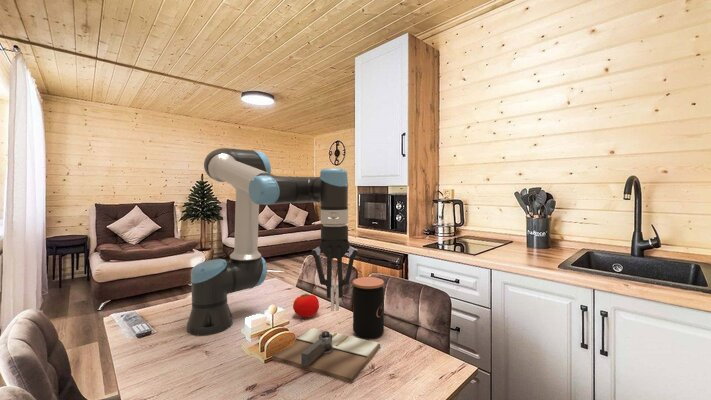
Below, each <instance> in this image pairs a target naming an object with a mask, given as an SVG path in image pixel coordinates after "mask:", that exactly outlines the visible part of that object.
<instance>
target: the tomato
mask: <svg viewBox="0 0 711 400" xmlns="http://www.w3.org/2000/svg"><path fill="white" fill-rule="evenodd" d="M319 308H320V302H319V299H318V297H317V296H316V295H314V294H308V293H303V294H301V295H300V296H298V297H296V298H295V300H294V301H293V304H292V309H293V311H294V314H296V315H297V316H299V317H303V318H310V317H313V316H315V315H316V314H317V313H318V311H319Z"/></svg>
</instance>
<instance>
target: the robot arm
mask: <svg viewBox="0 0 711 400" xmlns="http://www.w3.org/2000/svg"><path fill="white" fill-rule="evenodd" d="M203 169H204V172H205V173H206V175H207V176H208V177H209V178H211V179H212V180H214V181H216V182H219V183H227V184H229V185H231V186H232V187H233V188H234V189H235V206H234V207H235V212H234V245H233V246H234V247H233V248H234V249H233V251H232V253H231V254H230V255H229V261H226V259H224V258H223V259H222V258H216V259H209V260H205V261H202V262H200V263H198V264H196V265H195V266H193V268H192V269H191V273H190V275H191V276H190V283H191V287H190V288H191V310H190V314H189V316H188V321H187V322H186V331H187V333H188V334H190V335H194V336H209V335H214V334H218V333H220V332H223V331H225V330H227V329H229V328H231V326H233V322H234V319H233V314H232V312H231V309H230V306H229V304H228V294H232V293H236V292H241V291H245V290H246V291H247V290H249V289H250V290H251V289H253V288H256V287H259V286H261V285H262V284H264V282H265V280H266V278H267V272H268V267H267V266H268V265H267V264H266V263H267V261H266V259H265V258H264V257H263V256H262V253H260V252H259V250H258V247H259V246H258V244H259V218H260V217H259V216H260V215H259V214H260V205H265V206H270V205H283V204H303V203H304V204H305V203H320V224H321V226H320V242H319V245H318V246H317V247H316V248H313V249H312V250H311V252H310V254H311V255H312V257H313V259H314V262H315V265H316V272H317V275H318V280H319V284H320V285H323V286H325V287H326V298H327V299H330V311H331V312H334V311H335V312H338V311H339V309H340V299H342V298H343V297H344V287H345V286H346V285H349V284H350V280H351V275H352V271H353V265H354V261H355V258H356V257H357V255H358V248H354V247H352V246H351V245H350V242H349V226H348V225H347V224H348V223H349V207H348V206H349V205H348V203H349V201H348V200H349V196H348V195H349V179H348V172H347V170H346V169H345V168H323V169H320V175H319V176H285V175H274V174H273V173H271V172H272V166H271V162H270V160H269V158H268V156H267V155H266V153H264V152H262V151H259V150H254V149H242V148H241V149H240V148H231V147H230V148H229V147H222V148H216V149H215V150H212V151H210V152H209V153H208V154H207V155H206V157H205V159H204V162H203ZM347 252H348V255H349V257H348V258H349V259H348V264H347V269H346V273H345V278H344V275H343V257H344V256H345V255H346V253H347ZM321 253H322V254H323V255H324V256H325V258H326V277H325V273H324V267H323V265H322V264H323V263H322V258H321V256H320V255H321ZM333 259H336V262H337V263H336V265H337V284H336V285H335V284H332V283H333V281H332V279H333V276H332V275H333Z"/></svg>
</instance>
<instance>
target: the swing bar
mask: <svg viewBox="0 0 711 400" xmlns="http://www.w3.org/2000/svg"><path fill="white" fill-rule="evenodd" d="M329 332H330V331H328V330H324V332H322V334H320V335H319V339H318V340H317V341H316V342H314V343H313V344H312V345H311V346H309V347H308V348H307V349H306V350H304V351H303V352H302V353H301V365H305V366H308V365H310V364H311V363H312V362H313V361H314V360H315V359H316V358H317V357H319V356H320V355H321V354H322V353H323V352H324V351H328V350H331V349H332V334H329Z"/></svg>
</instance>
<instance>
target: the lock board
mask: <svg viewBox="0 0 711 400" xmlns="http://www.w3.org/2000/svg"><path fill="white" fill-rule="evenodd" d="M324 331H325V330H323V329H319V328H314V327H310V328H309V329H308V330H306V331H305V332H304V333H302V334H301V335H300V336H298V337H296V338H295V339H296V340H295V339H294V340H295V344H294V345H293V346H291V347H289V348H287V349H284V350H282V351H279V350H278V351H279V352H278V351H277V352H275V353H273V354H272V355H271V360H272V361H274V362H275V361H276V362H278V363H281V364H285V365H289V366H291V367H296V368H299V369H303V370H306V371H309V372H312V373H315V374H319V375H321V376H326V377H329V378H333V379H335V380H339V381H342V382H346V383H349V384H352V383H353V382H354V381H355V380H356V378H358V376H359V375H360V373H362V371H363V370H364V368H365V367H366V366H367V365H368V363H369V362H370V361H371V360H372V359H373V357H374V356H375V355H376V353H378V351H379V350H380V349H381V344H380V343H379V342H377V341H373V340H369V339H364V338H360V337H355V336H351V335H345V334H341V333H336V332H333V331H328V332H329V334H332V349H331V350H328V351H324V352H323V353H322V354H321V355H320V356H319V357H317V358H316V359H315V360H314V361H313V362H312V363H311V364H310V365H308V366H305V365H301V353H302V352H303V351H304V350H306V349H307V348H308V347H309V346H311V345H312V344H313V343H314V342H316V341H317V340H318V339H319V335H320V334H322V332H324Z"/></svg>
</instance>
